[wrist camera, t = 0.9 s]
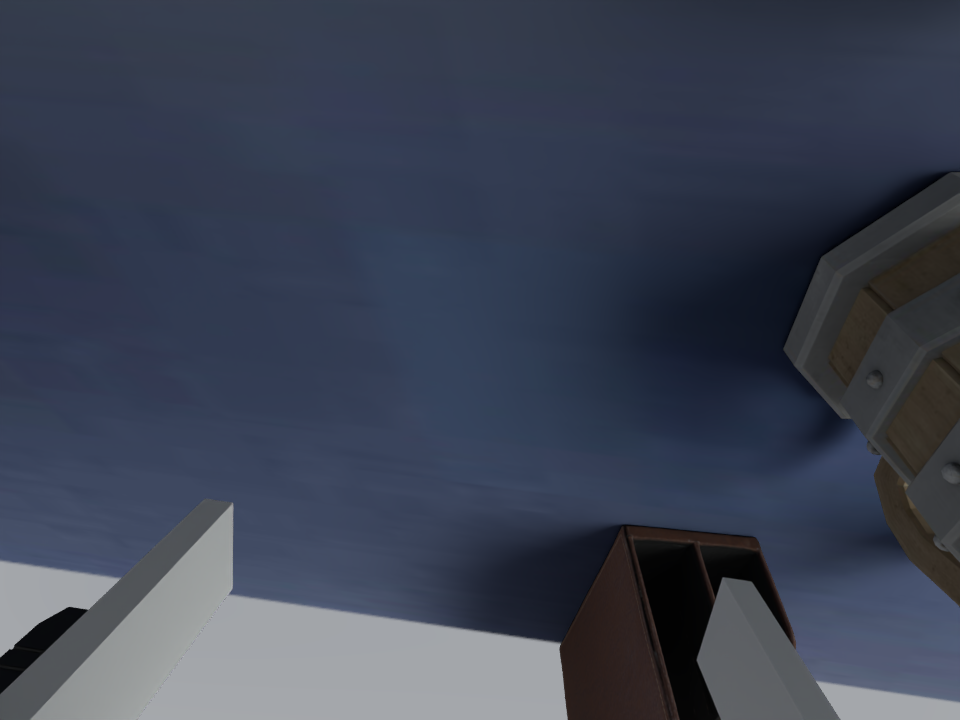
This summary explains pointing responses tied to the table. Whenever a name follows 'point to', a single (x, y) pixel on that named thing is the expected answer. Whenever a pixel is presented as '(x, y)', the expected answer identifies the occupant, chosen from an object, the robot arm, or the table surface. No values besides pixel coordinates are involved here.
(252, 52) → the table surface
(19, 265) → the table surface
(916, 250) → the tankard
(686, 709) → the letter holder
